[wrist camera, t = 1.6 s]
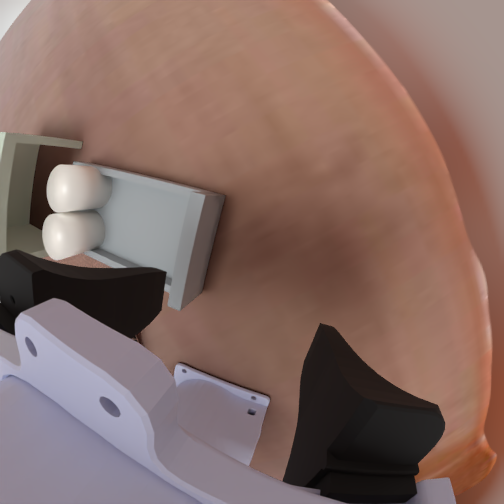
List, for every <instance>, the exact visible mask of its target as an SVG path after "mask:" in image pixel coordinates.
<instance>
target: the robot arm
mask: <svg viewBox="0 0 504 504" xmlns="http://www.w3.org/2000/svg"><path fill="white" fill-rule="evenodd" d="M166 274H167V272H166V271H163V270H160V269H158V268H154V267H130V268H88V267H78V266H72V265H66V264H60V263H56V262H52V261H49V260H45V259H42V258H39V257H36V256H33V255H31V254H28V253H26V252H23V251H21V250H17V249H16V250H12V251H9V252H5V253H2V254H1V255H0V302H1V303H0V504H456V501H455V497H454V493H453V490H452V486H451V482H450V479H449V478H438V479H427V480H422V481H420V482H418V483H415V478H414V475H417V474H418V473H419V467H418V463H419V462H420V461H421V460H422V459H423V458H424V457H425V456H426V455H427V454H428V453H429V452H430V451H431V449H432V448H433V447H434V446H435V445H436V444H437V442H438V441H439V440H440V438H441V437H442V435H443V432H444V430H445V421H444V419H443V416H442V414H441V411H440V409H439V407H438V405H436V404H434V403H431V402H428V401H426V400H423V399H420V398H418V397H415V396H413V395H411V394H409V393H407V392H405V391H403V390H402V389H400V388H398V387H396V386H395V385H393V384H392V383H390V382H389V381H387V380H386V379H384V378H383V377H381V376H380V375H379V374H377V373H376V372H375V371H374V370H373V369H371V368H370V367H369V366H368V365H367V364H366V363H365V362H364V361H363V360H362V359H361V358H360V357H359V356H358V355H357V354H356V353H355V352H354V351H353V349H352V348H351V347H350V346H349V345H348V343H347V342H346V341H345V340H344V338H343V337H342V336H341V335H340V333H339V332H338V331H337V330H336V329H335V328H334V327H332V326H328V325H325V324H321V323H320V325H319V327H318V330H317V332H316V334H315V337H314V339H313V342H312V344H311V346H310V349H309V351H308V353H307V356H306V358H305V360H304V364H303V369H302V374H301V381H300V398H299V413H298V423H297V428H296V433H295V437H294V442H293V446H292V450H291V454H290V458H289V461H288V465H287V468H286V472H285V475H284V478H283V481H280V480H278V479H275V478H273V477H271V476H268V475H266V474H264V473H262V472H260V471H258V470H255V469H253V468H251V467H249V464H250V462H251V459H252V457H253V454H254V451H255V448H256V444H257V442H258V440H259V437H260V434H261V431H262V430H261V428H262V424H263V421H264V417H265V413H266V410H267V407H268V405H269V402H270V398H269V397H268V396H265V395H262V394H259V393H256V392H253V391H250V390H247V389H244V388H242V387H239V386H236V385H233V384H231V383H228V382H225V381H223V380H220V379H218V378H215V377H212V376H210V375H208V374H205V373H203V372H200V371H198V370H195V369H193V368H191V367H189V366H186V365H184V364H182V363H178V364H177V365H176V366H175V371H174V378H173V376H172V375H171V373H170V372H169V371H168V369H167V368H166V366H165V365H164V364H163V362H162V361H161V359H160V358H159V357H157V356H156V355H154V354H153V353H152V352H150V351H149V350H148V349H146V348H145V347H144V346H142V345H141V344H140V343H138V342H136V341H134V340H132V338H133V337H134V336H136V335H137V334H138V333H139V332H140V331H142V330H143V329H144V328H145V327H146V326H148V325H149V324H150V323H151V322H152V321H153V320H154V318H155V317H156V316H157V315H158V314H159V313H160V311H161V310H162V302H163V295H164V288H165V281H166ZM184 369H185V370H186V371H185V370H184ZM252 396H255V397H256V398H254V397H252Z"/></svg>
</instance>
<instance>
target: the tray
mask: <svg viewBox="0 0 504 504" xmlns="http://www.w3.org/2000/svg"><path fill="white" fill-rule="evenodd" d="M47 199H48V203H49V205H50V207H51V209H52V210H53V211H55V212H57V213H56V214H50V215H49V216H48V217H47V218H46V219H45V221H44V224H43V230H42V237H43V243H44V247H45V249H46V251H47V253H48V255H49V256H50V257H51V258H52V259H54V260H61V259H64V258H67V257H71V256H74V255H78V254H81V253H84V254H86V255H88V256H90V257H92V258H94V259H96V260H98V261H100V262H102V263H104V264H106V265H108V266H110V267H113V268H130V267H154V268H158V269H160V270H163V271H166V272H167V274H166V281H165V288H164V291H166V292H169V293H170V294H169V300H168V306H169V307H172V308H174V309H176V310H179V311H181V310H182V309H183V308H184V307H185V306H186V305H188V304H189V303H190V302H191V301H192V300H194V299H195V298H196V297H197V296H198V295H199V294H201V293H202V289H203V285H204V280H205V276H206V272H207V267H208V263H209V259H210V255H211V251H212V247H213V243H214V239H215V235H216V231H217V227H218V223H219V219H220V215H221V211H222V207H223V203H224V200H225V195H222V194H218V193H214V192H211V191H207V190H203V189H200V188H196V187H192V186H188V185H184V184H180V183H176V182H172V181H168V180H164V179H160V178H156V177H152V176H148V175H143V174H139V173H135V172H130V171H126V170H121V169H117V168H112V167H108V166H103V165H98V164H93V163H88V162H76V161H73V165H63V164H61V165H58V166H56V167H55V168H54V169H53V170H52V172H51V174H50V176H49V179H48V183H47ZM61 212H64V213H61Z"/></svg>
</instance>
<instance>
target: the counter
mask: <svg viewBox="0 0 504 504" xmlns="http://www.w3.org/2000/svg"><path fill="white" fill-rule="evenodd" d="M82 143H83V142H82V141H76V140H69V139H62V138H55V137H47V136H38V135H29V134H19V133H8V132H0V255H1V254H2V253H5V252H9V251H12V250H16V249H17V250H21V251H23V252H26V253H28V254H31V255H33V256H36V257H39V258H43V257H47V256H49V255H48V253H47V251H46V249H45V247H44V243H43V237H42V230H40V229H38V228H36V227H34V226H33V225H31V224H29V219H30V207H31V197H32V188H33V181H34V174H35V168H36V162H37V157H38V152H39V147H40V145H50V146H59V147H68V148H76V149H81V148H82Z"/></svg>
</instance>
